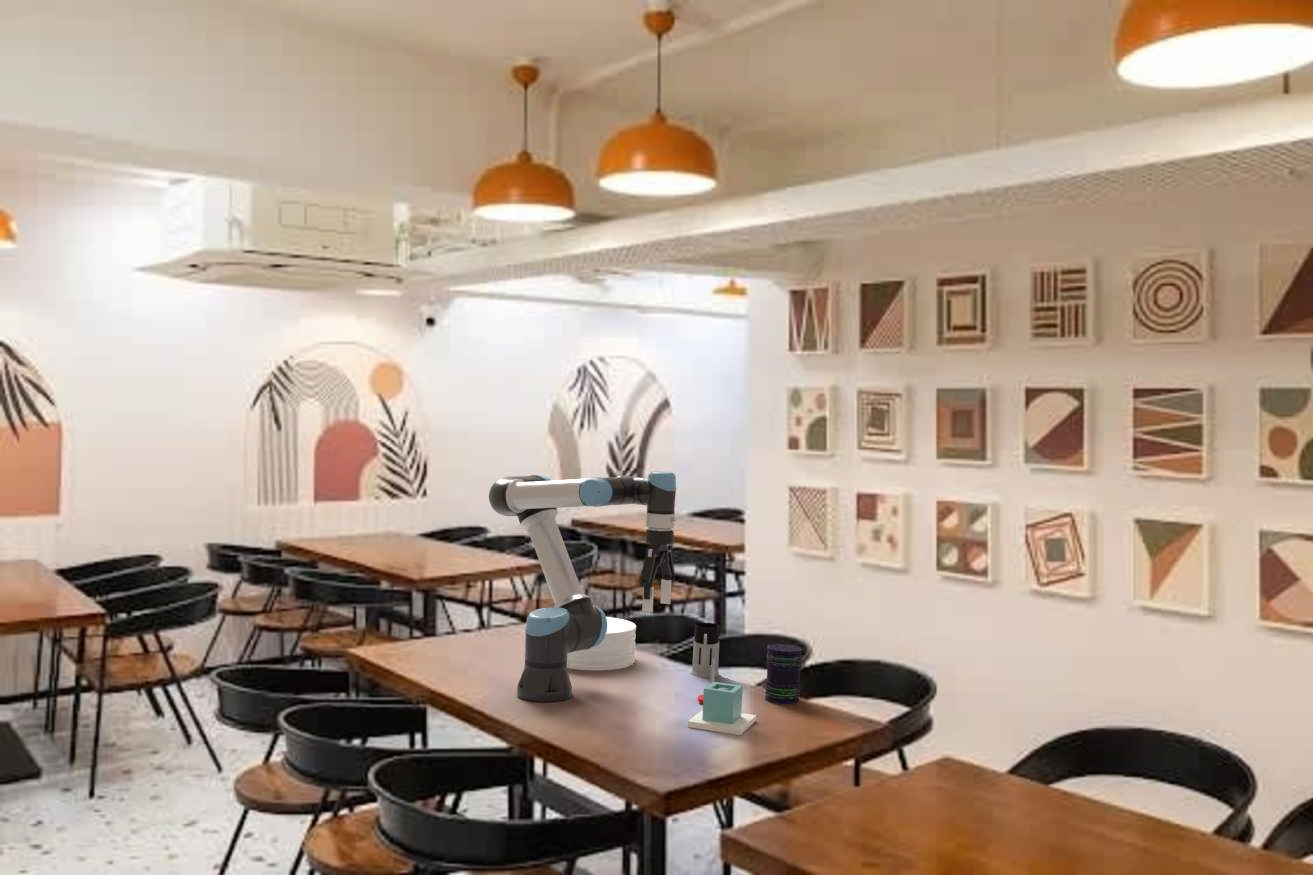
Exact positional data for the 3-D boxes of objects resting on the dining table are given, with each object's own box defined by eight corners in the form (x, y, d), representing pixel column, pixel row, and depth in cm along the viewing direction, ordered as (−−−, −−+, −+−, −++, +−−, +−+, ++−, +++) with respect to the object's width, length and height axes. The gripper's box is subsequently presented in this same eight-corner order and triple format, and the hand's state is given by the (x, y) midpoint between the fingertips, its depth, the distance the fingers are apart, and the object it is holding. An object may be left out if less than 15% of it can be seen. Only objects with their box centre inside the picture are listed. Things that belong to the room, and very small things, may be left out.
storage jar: (806, 700, 304) (809, 648, 304) (786, 706, 297) (788, 652, 296) (778, 693, 311) (780, 641, 310) (757, 698, 304) (759, 646, 303)
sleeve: (702, 719, 275) (703, 688, 275) (711, 711, 283) (713, 681, 283) (732, 724, 273) (733, 692, 272) (741, 716, 280) (742, 685, 280)
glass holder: (719, 671, 334) (722, 623, 334) (717, 682, 320) (720, 632, 320) (691, 669, 335) (693, 621, 335) (688, 680, 321) (690, 630, 321)
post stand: (687, 726, 274) (689, 691, 273) (704, 713, 287) (706, 679, 286) (740, 735, 269) (742, 699, 268) (755, 720, 282) (757, 686, 282)
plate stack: (651, 659, 347) (652, 624, 347) (600, 675, 323) (602, 637, 323) (581, 646, 362) (582, 612, 362) (528, 660, 338) (529, 624, 338)
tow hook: (699, 697, 305) (695, 704, 296) (701, 651, 305) (698, 656, 296) (729, 699, 304) (726, 706, 294) (731, 653, 304) (728, 659, 295)
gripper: (656, 534, 278) (653, 616, 278) (688, 526, 301) (685, 601, 302) (629, 531, 281) (626, 613, 281) (663, 524, 304) (659, 599, 304)
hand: (656, 607), depth 291 cm, fingers open, 13 cm apart
